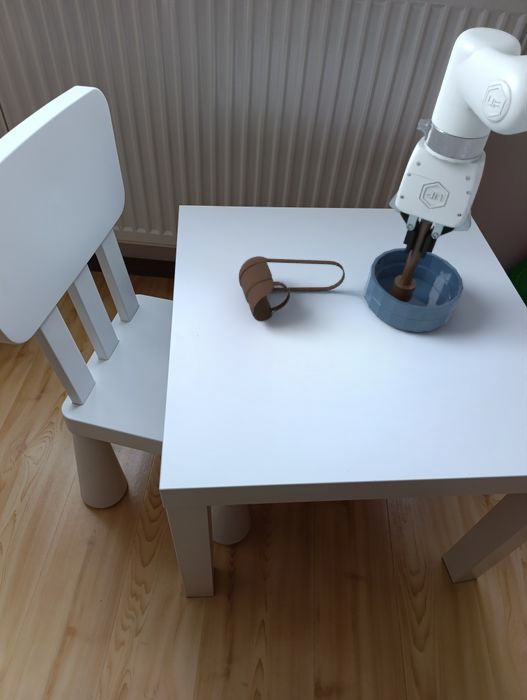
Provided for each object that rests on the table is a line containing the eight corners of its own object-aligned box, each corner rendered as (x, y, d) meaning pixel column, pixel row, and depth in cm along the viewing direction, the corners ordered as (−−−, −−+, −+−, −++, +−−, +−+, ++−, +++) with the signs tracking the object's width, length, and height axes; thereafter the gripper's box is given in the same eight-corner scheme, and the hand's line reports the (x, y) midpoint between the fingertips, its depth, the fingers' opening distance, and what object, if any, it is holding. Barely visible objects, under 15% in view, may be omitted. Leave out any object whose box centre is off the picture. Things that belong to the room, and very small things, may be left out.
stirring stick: (414, 292, 91) (441, 218, 80) (408, 305, 89) (435, 230, 78) (393, 285, 92) (418, 211, 81) (387, 297, 90) (412, 223, 79)
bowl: (459, 292, 96) (471, 266, 92) (439, 347, 87) (451, 321, 82) (379, 264, 100) (387, 237, 95) (351, 314, 91) (358, 287, 86)
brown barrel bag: (249, 328, 87) (251, 297, 81) (234, 281, 94) (235, 249, 89) (352, 314, 91) (361, 283, 85) (330, 269, 98) (336, 239, 93)
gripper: (389, 133, 70) (361, 247, 83) (512, 168, 66) (461, 282, 79) (405, 111, 74) (376, 223, 88) (521, 143, 70) (471, 254, 84)
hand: (416, 250), depth 84 cm, fingers closed on stirring stick
